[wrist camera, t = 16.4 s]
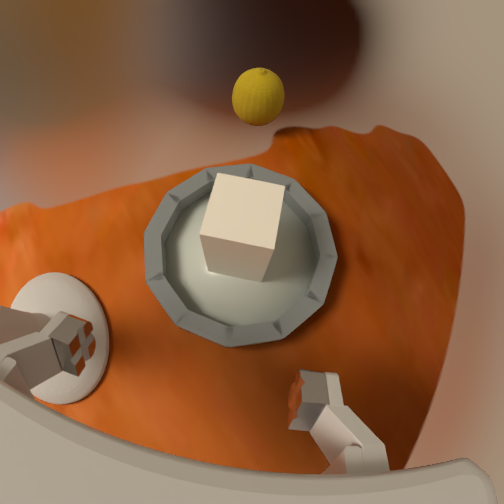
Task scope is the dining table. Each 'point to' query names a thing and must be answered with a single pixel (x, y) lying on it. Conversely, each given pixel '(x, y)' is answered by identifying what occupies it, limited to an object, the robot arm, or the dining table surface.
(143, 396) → the dining table surface
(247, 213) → the block
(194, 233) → the dish
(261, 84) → the lemon
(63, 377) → the candlestick
